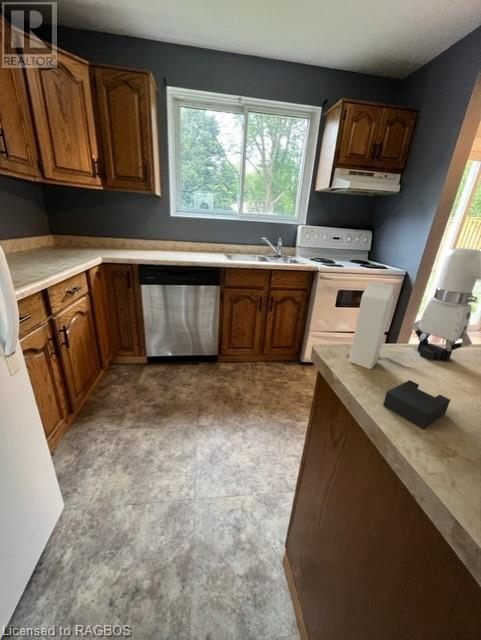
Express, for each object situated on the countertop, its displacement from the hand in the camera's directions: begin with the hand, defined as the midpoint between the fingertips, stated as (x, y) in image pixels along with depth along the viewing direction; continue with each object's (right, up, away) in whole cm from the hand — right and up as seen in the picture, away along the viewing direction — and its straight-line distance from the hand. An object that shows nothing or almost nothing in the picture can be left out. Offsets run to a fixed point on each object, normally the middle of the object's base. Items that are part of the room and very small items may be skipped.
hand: (431, 356), depth 78 cm
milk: (-21, -1, -3) cm, 22 cm away
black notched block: (-19, -8, -22) cm, 31 cm away
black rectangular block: (0, -1, 0) cm, 1 cm away
